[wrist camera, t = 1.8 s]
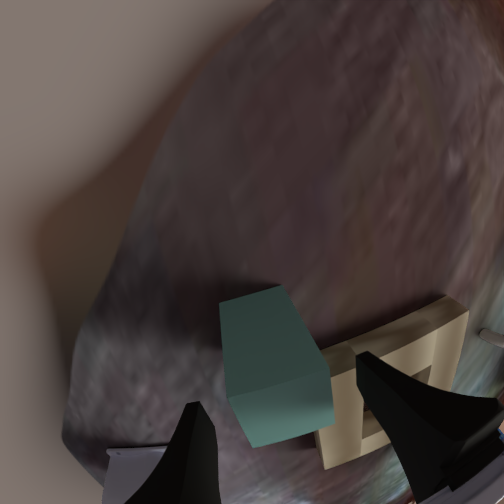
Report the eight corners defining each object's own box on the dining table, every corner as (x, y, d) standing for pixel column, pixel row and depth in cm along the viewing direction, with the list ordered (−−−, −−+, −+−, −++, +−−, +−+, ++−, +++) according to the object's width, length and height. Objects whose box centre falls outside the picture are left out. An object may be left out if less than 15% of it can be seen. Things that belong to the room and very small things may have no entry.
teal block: (236, 352, 18) (252, 448, 11) (218, 302, 17) (226, 397, 10) (293, 335, 19) (335, 423, 11) (281, 284, 17) (329, 367, 10)
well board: (316, 448, 24) (324, 469, 21) (298, 357, 19) (310, 384, 16) (429, 397, 24) (442, 413, 22) (447, 295, 20) (469, 310, 17)
